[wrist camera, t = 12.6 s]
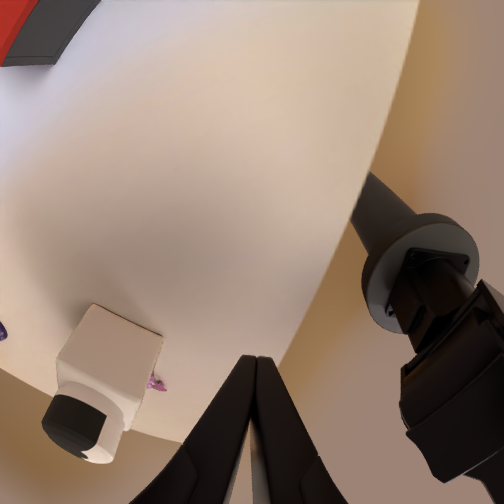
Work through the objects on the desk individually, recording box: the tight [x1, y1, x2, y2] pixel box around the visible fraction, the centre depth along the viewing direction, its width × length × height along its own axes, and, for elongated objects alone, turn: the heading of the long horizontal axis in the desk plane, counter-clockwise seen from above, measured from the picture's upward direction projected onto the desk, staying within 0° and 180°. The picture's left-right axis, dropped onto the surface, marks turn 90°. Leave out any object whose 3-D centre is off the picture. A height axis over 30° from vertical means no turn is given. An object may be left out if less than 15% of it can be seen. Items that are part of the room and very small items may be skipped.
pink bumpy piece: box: [147, 374, 167, 391], centre depth 29 cm, size 3×2×2 cm
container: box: [42, 304, 164, 464], centre depth 22 cm, size 8×8×13 cm
